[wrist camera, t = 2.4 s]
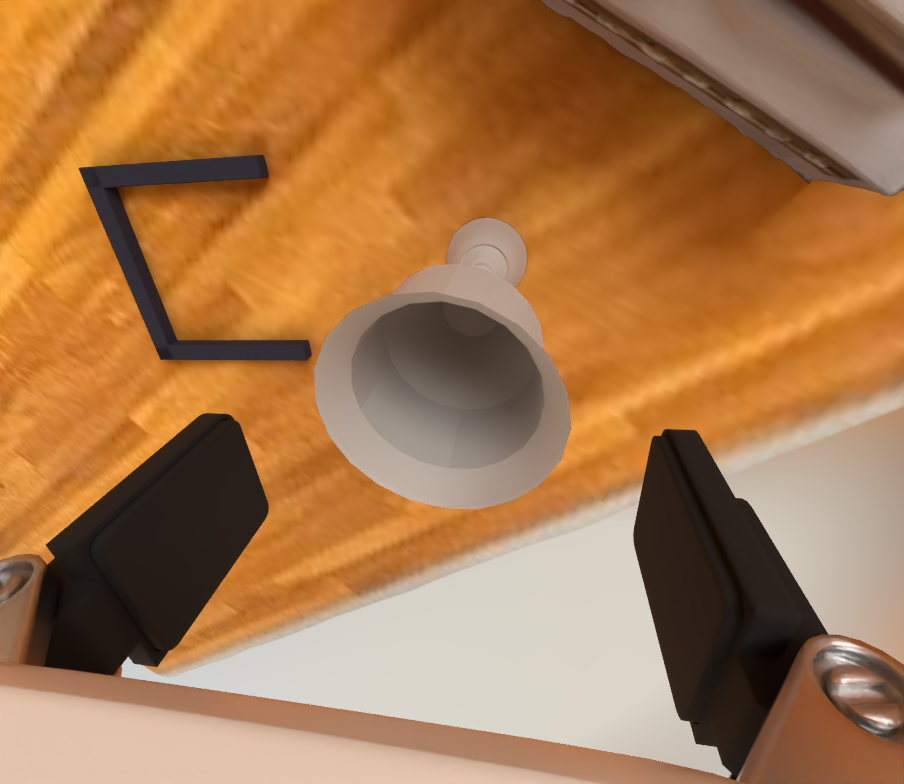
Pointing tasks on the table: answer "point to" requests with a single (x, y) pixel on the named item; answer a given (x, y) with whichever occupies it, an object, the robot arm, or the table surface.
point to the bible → (779, 74)
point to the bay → (135, 268)
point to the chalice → (448, 380)
